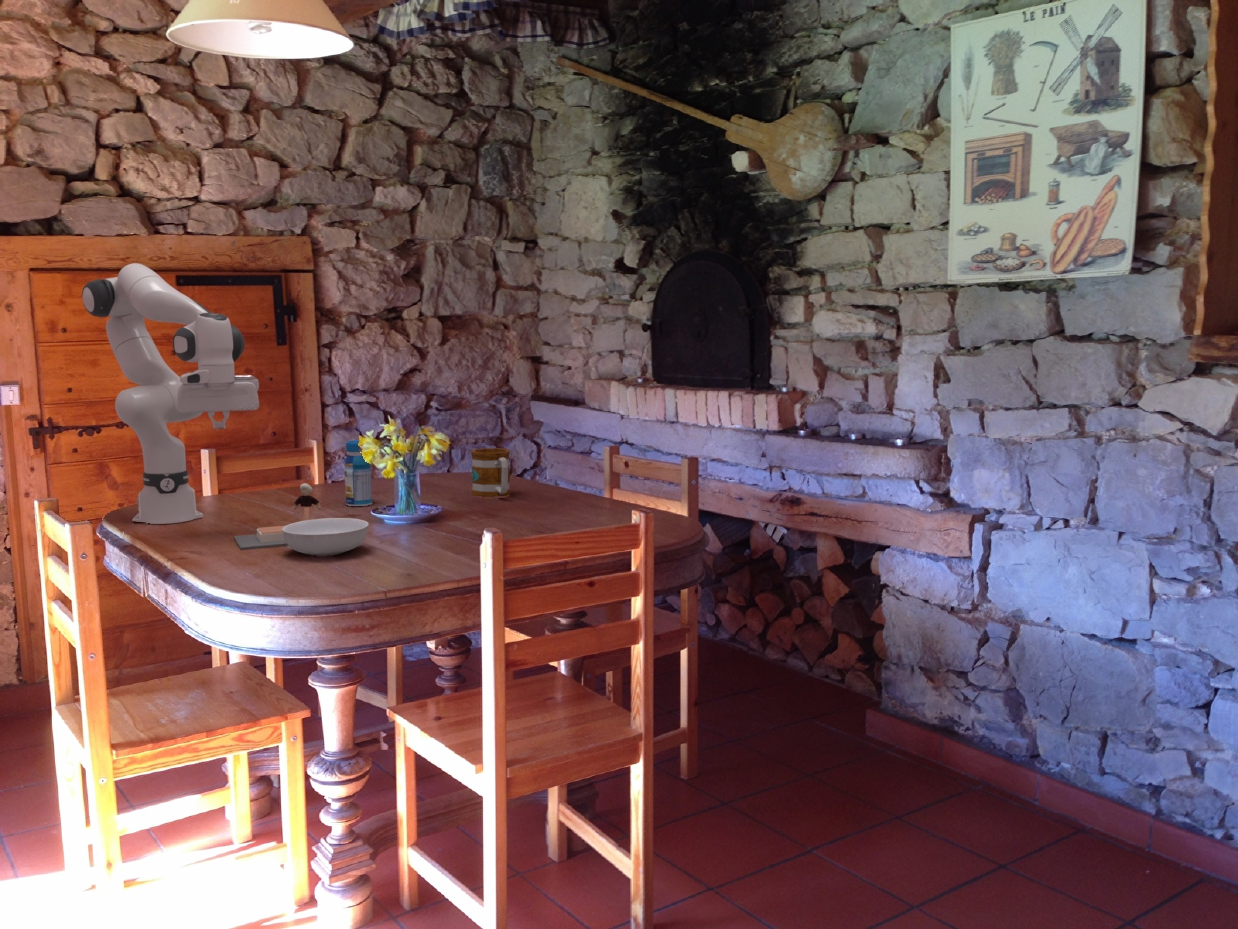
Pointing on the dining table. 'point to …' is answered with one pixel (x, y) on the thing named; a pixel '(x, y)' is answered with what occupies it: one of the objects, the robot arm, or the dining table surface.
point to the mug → (490, 472)
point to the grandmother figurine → (306, 503)
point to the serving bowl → (325, 535)
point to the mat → (255, 542)
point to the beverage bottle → (357, 477)
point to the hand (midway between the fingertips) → (219, 428)
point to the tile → (270, 534)
